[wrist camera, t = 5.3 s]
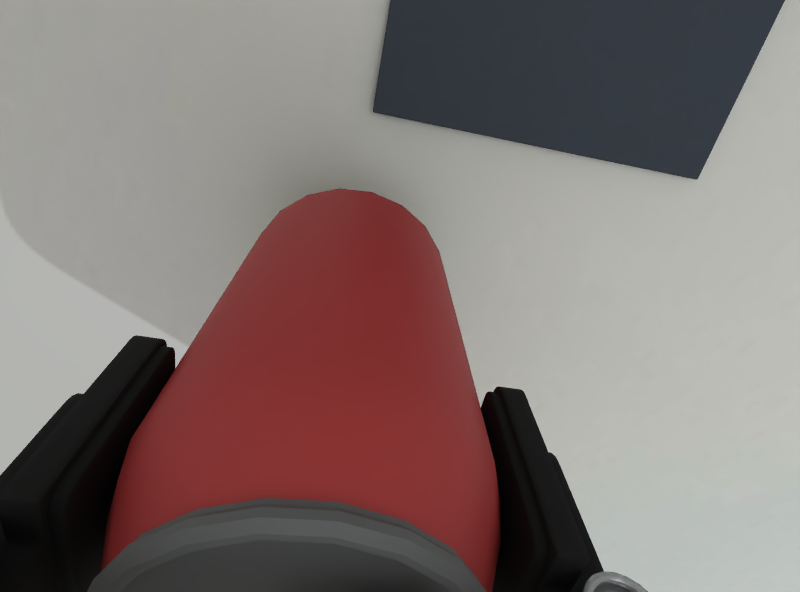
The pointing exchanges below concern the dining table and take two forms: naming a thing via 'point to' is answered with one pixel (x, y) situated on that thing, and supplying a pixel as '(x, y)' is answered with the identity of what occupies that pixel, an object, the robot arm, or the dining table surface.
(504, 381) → the dining table surface
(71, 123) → the dining table surface
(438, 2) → the mat
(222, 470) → the beer can
